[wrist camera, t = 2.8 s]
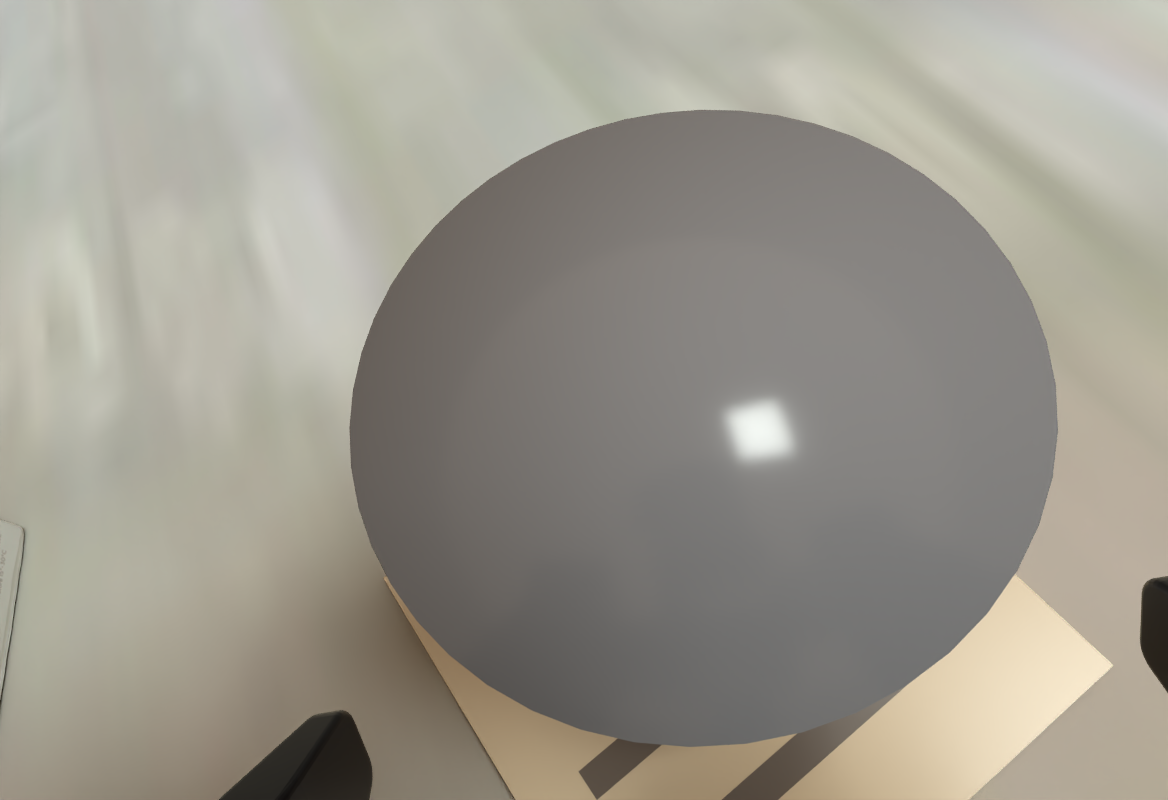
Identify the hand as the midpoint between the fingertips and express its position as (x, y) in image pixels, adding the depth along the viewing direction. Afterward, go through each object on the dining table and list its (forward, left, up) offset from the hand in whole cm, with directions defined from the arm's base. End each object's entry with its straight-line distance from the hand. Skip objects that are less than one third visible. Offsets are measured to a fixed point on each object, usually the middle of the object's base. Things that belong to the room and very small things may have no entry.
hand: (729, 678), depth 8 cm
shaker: (+1, +2, -9) cm, 9 cm away
